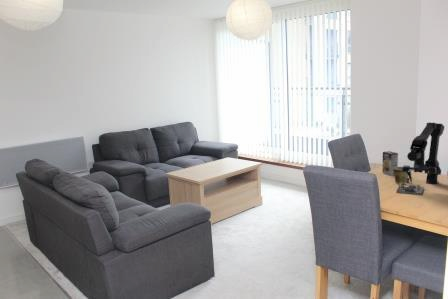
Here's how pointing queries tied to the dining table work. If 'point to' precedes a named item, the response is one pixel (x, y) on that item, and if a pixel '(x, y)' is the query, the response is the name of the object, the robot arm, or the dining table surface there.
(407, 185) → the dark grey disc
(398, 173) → the ceramic cup
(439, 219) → the dining table surface
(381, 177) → the dining table surface
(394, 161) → the coffee box
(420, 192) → the hub plate
